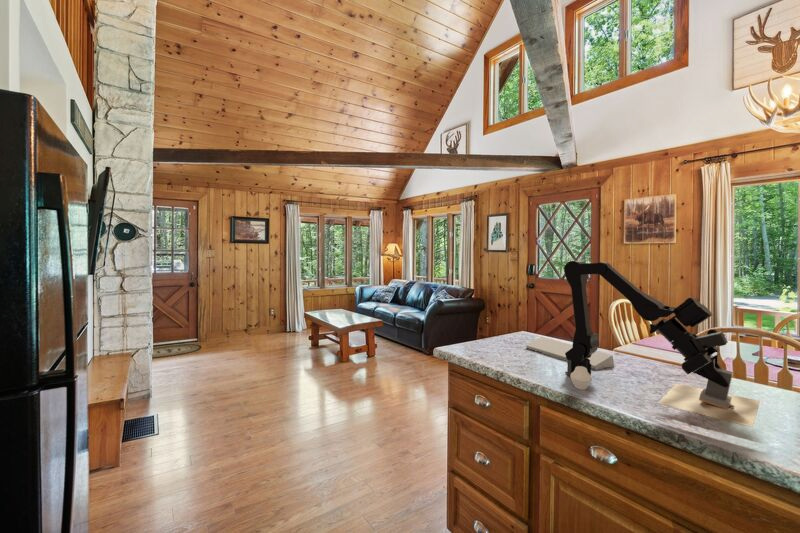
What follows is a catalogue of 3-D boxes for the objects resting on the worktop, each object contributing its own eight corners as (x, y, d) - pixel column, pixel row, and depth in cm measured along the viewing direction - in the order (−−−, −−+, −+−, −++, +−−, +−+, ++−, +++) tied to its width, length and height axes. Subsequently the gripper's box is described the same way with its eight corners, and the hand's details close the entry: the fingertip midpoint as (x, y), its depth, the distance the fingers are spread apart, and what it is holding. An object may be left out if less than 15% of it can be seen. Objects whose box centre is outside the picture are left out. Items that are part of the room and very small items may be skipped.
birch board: (654, 408, 103) (654, 403, 103) (674, 386, 120) (674, 382, 120) (754, 434, 89) (755, 428, 89) (762, 405, 105) (762, 400, 105)
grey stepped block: (698, 400, 103) (705, 368, 102) (702, 394, 107) (709, 364, 106) (727, 409, 99) (734, 376, 98) (730, 403, 103) (737, 371, 102)
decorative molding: (597, 378, 137) (614, 367, 141) (594, 365, 136) (612, 355, 141) (527, 354, 168) (543, 346, 172) (525, 344, 167) (541, 336, 171)
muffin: (569, 389, 117) (570, 367, 117) (569, 383, 123) (570, 362, 122) (592, 392, 115) (592, 370, 114) (591, 386, 120) (591, 364, 120)
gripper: (699, 324, 98) (755, 377, 90) (710, 316, 111) (761, 361, 103) (661, 348, 104) (711, 400, 96) (677, 338, 117) (722, 382, 109)
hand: (728, 385), depth 101 cm, fingers closed on grey stepped block, 3 cm apart
